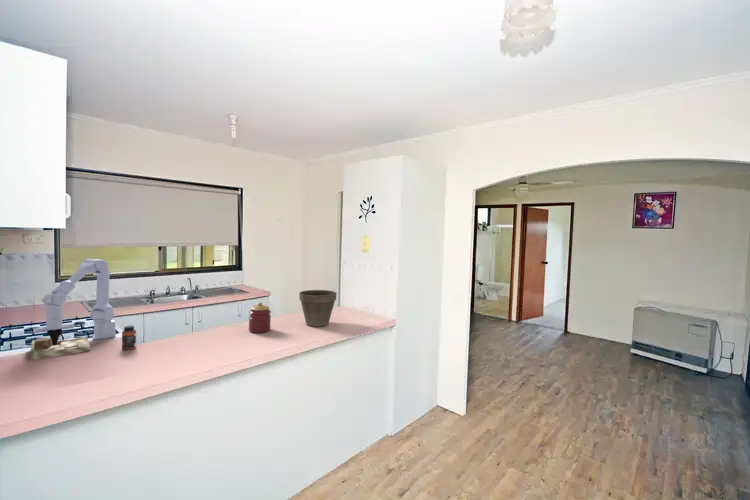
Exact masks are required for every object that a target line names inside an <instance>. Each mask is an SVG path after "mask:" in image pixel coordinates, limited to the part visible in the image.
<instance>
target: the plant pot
mask: <svg viewBox="0 0 750 500" xmlns="http://www.w3.org/2000/svg"><path fill="white" fill-rule="evenodd" d="M298 294H299V301H300V303H301V308H302V312H303V316H304V317H303V318H304V320H305V325H307V326H309V327H312V328H313V327H315V328H318V327H326V326H328V325H329V323H330V320H331V319H330V318H331V316H332V312H333V309H334V306H335V305H334V304H335V302H336V300H337V292H336V291H334V290H327V289H326V290H325V289H311V290H310V289H309V290H303V291H300V292H299V293H298Z"/></svg>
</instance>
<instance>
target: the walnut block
mask: <svg viewBox="0 0 750 500" xmlns="http://www.w3.org/2000/svg"><path fill="white" fill-rule="evenodd" d="M51 346H53V343H52V340H51V338H50V337H41V338H37V339H35V350H37V349H48V348H50V347H51Z"/></svg>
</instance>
